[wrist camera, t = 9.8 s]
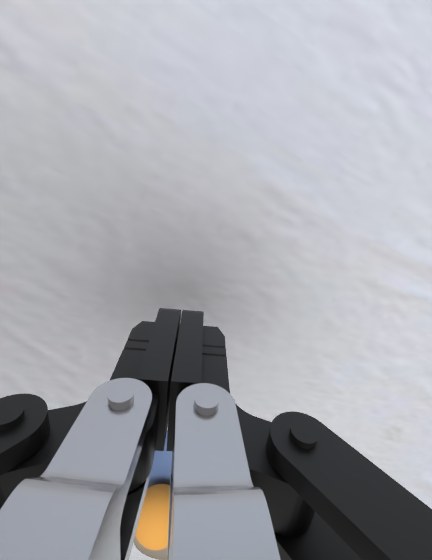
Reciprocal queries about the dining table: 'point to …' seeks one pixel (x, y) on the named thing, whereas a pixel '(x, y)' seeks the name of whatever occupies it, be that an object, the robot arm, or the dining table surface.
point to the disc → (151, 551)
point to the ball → (154, 518)
